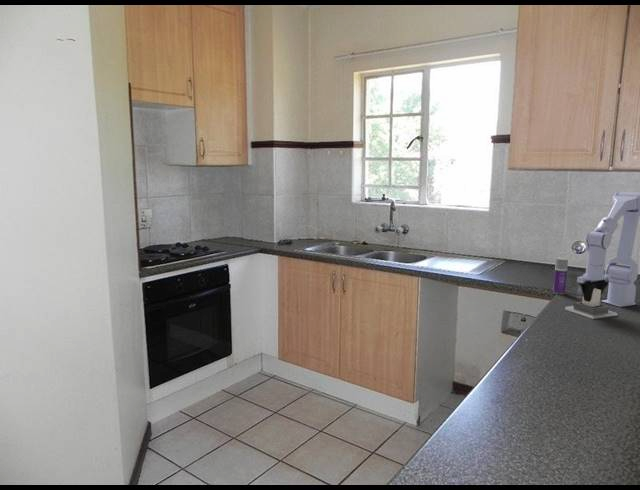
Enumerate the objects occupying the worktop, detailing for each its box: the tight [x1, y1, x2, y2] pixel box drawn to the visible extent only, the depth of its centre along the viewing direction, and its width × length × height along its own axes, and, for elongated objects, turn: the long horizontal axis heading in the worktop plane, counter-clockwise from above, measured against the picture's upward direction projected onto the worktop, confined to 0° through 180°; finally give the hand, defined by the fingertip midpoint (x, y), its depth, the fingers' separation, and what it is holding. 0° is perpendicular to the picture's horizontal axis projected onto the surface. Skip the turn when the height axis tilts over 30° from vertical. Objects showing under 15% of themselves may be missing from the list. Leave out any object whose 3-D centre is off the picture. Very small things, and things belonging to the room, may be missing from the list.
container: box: [552, 257, 569, 295], centre depth 201 cm, size 5×5×15 cm
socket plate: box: [564, 301, 618, 320], centre depth 175 cm, size 12×12×3 cm
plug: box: [581, 288, 602, 307], centre depth 174 cm, size 4×4×7 cm
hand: (591, 300), depth 174 cm, fingers closed on plug, 4 cm apart
